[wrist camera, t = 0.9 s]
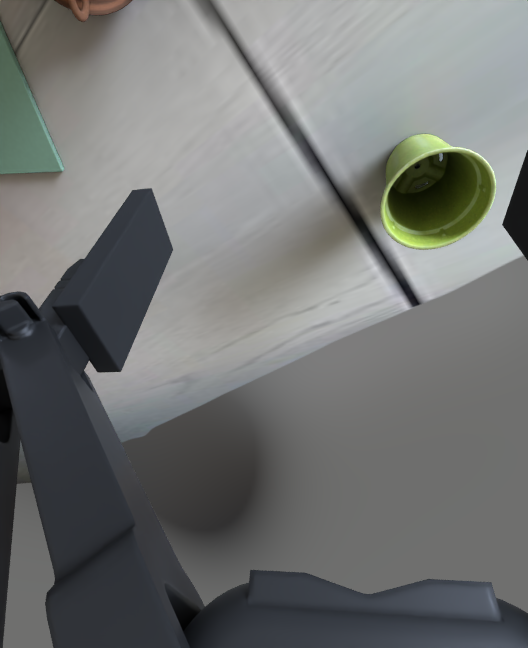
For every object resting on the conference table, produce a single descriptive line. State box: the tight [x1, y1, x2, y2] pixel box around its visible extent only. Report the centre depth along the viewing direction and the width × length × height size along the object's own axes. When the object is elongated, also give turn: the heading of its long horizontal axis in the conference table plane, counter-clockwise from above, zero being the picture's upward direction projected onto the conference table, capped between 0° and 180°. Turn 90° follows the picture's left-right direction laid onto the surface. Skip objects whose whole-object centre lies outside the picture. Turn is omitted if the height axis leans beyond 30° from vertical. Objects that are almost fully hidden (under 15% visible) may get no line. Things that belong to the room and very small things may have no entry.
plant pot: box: [380, 134, 496, 250], centre depth 36 cm, size 9×9×9 cm
